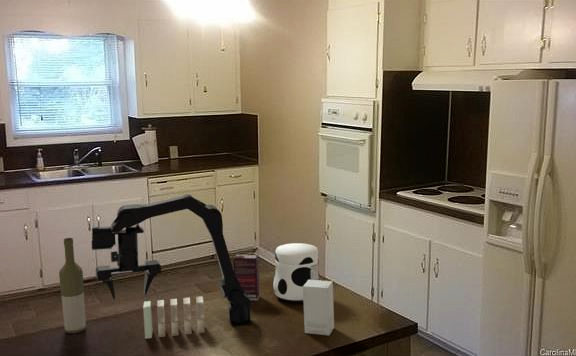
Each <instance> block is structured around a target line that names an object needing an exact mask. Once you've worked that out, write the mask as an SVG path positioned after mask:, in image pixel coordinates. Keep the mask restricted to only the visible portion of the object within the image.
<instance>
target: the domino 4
mask: <svg viewBox="0 0 576 356" xmlns="http://www.w3.org/2000/svg"><path fill="white" fill-rule="evenodd" d="M190 298H191V297H182V301H183V319H184V320H183V321H184V322H183V323H184V334H185V335H192V332H193V331H192V313H191V299H190Z"/></svg>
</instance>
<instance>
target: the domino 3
mask: <svg viewBox="0 0 576 356" xmlns="http://www.w3.org/2000/svg"><path fill="white" fill-rule="evenodd" d="M169 301H170V302H169V303H170V321H171V337H174V336H176V337H177V336H179V334H180V333H179V316H178V315H179V314H178V299H177V298H170V299H169Z"/></svg>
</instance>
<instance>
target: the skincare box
mask: <svg viewBox="0 0 576 356" xmlns="http://www.w3.org/2000/svg"><path fill="white" fill-rule="evenodd" d="M334 311H335V310H334V285H333V280H332V281H331V280H321V279H320V280H308V281H307V282H306V283H305V285H304V286H303V317H304V318H303V323H304V333H305V334H310V335H319V336H330V335H331V333H332V332H333V330H334V328H335V313H334Z"/></svg>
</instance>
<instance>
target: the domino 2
mask: <svg viewBox="0 0 576 356" xmlns="http://www.w3.org/2000/svg"><path fill="white" fill-rule="evenodd" d="M156 302H157V304H156V309H157V310H156V312H157V328H158V329H157V330H158V338H164V337H166V317H165V316H166V314H165V311H166V310H165V300H164V299H160V300H158V299H157V301H156Z"/></svg>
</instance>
